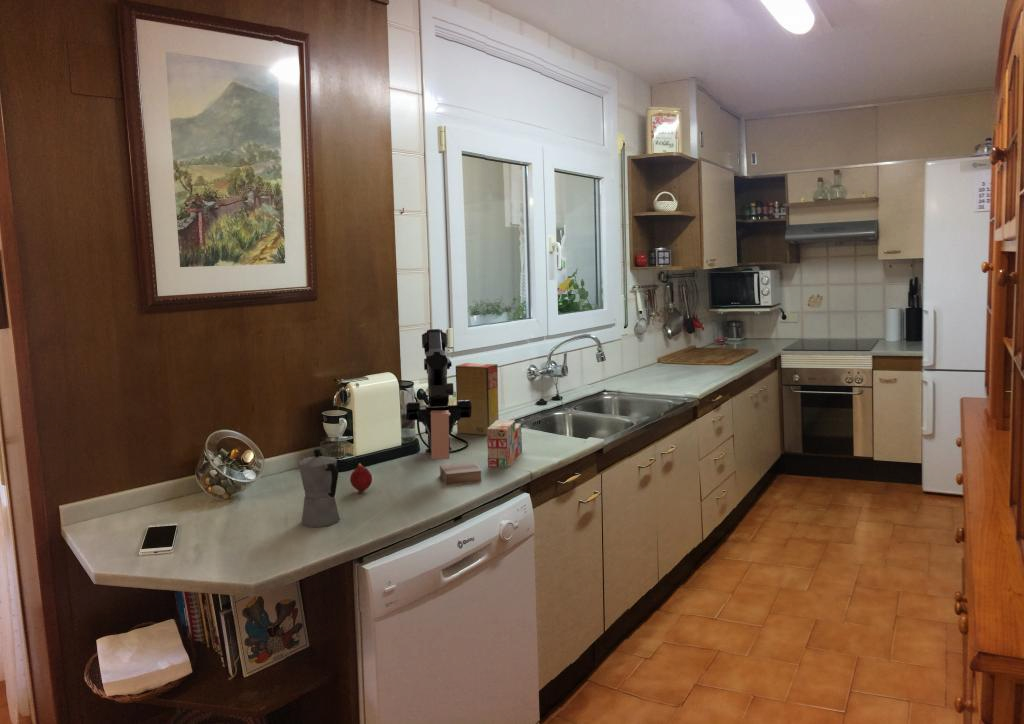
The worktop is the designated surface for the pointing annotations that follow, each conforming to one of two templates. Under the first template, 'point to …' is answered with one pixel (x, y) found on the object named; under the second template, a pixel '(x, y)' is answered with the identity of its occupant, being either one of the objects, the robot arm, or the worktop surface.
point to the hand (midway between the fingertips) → (440, 434)
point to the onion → (361, 478)
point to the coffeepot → (319, 490)
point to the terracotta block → (440, 434)
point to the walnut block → (460, 473)
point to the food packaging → (477, 396)
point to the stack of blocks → (503, 442)
